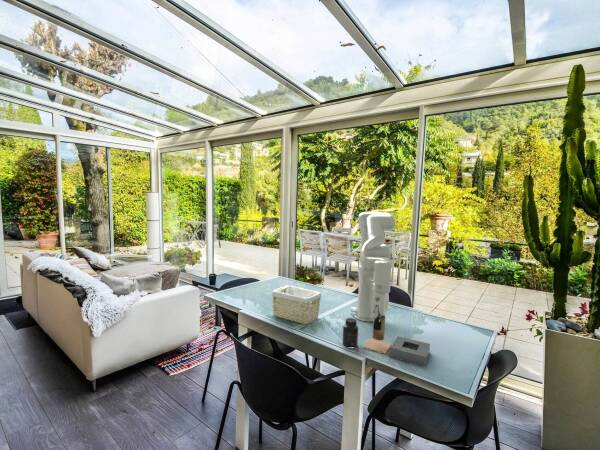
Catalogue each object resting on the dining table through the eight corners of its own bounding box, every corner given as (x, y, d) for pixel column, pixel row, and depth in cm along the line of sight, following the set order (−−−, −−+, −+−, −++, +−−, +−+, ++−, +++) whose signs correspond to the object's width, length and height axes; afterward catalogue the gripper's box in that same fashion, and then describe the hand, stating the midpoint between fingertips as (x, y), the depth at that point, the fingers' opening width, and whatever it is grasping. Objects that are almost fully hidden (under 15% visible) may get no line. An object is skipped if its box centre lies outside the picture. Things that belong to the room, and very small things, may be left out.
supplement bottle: (340, 342, 144) (342, 316, 143) (355, 342, 144) (356, 317, 143) (344, 349, 137) (345, 322, 136) (359, 349, 137) (360, 322, 136)
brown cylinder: (371, 338, 139) (372, 316, 138) (374, 334, 143) (375, 313, 142) (382, 341, 136) (383, 319, 136) (385, 337, 141) (386, 315, 140)
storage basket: (269, 315, 173) (270, 289, 172) (287, 308, 186) (288, 284, 185) (305, 326, 159) (306, 298, 158) (321, 317, 173) (322, 292, 172)
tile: (363, 348, 138) (363, 346, 138) (370, 340, 147) (370, 338, 147) (385, 354, 133) (385, 352, 133) (391, 345, 142) (391, 343, 142)
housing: (389, 356, 132) (390, 347, 131) (397, 344, 144) (397, 335, 143) (424, 366, 125) (425, 357, 124) (429, 352, 137) (430, 344, 136)
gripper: (384, 293, 129) (382, 336, 130) (394, 285, 144) (391, 323, 145) (367, 290, 133) (364, 331, 134) (378, 282, 147) (376, 320, 149)
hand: (378, 327), depth 139 cm, fingers closed on brown cylinder, 5 cm apart
